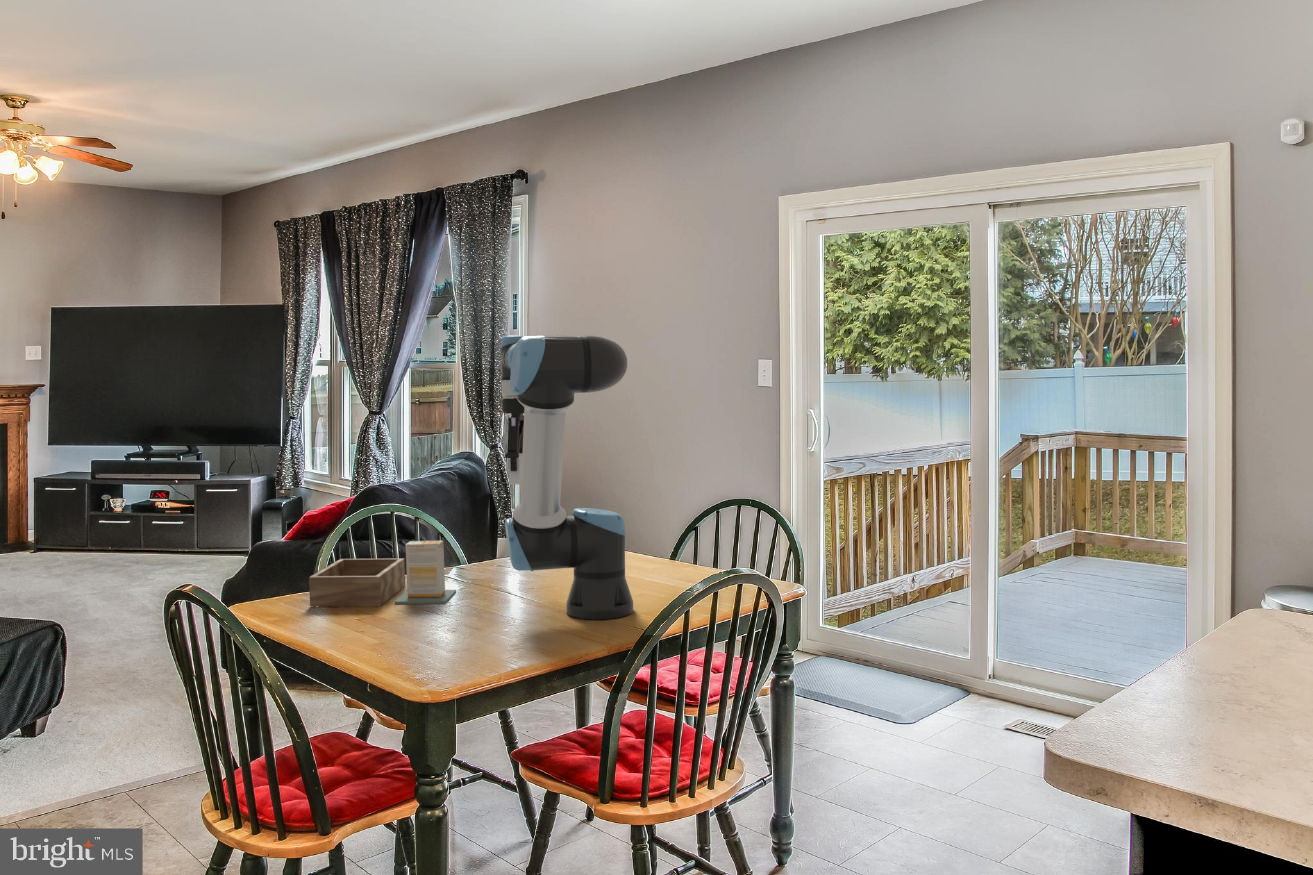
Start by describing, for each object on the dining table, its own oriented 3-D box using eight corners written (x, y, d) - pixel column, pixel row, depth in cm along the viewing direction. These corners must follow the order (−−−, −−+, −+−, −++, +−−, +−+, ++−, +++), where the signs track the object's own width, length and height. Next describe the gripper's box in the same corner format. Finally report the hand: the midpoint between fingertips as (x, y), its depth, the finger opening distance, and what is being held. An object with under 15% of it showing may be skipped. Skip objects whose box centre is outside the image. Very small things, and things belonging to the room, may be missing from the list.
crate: (380, 606, 226) (379, 576, 226) (309, 606, 226) (309, 577, 226) (405, 585, 248) (404, 558, 248) (341, 585, 248) (340, 558, 248)
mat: (445, 603, 228) (445, 601, 228) (394, 603, 228) (394, 601, 228) (456, 592, 240) (456, 589, 240) (407, 592, 240) (407, 590, 240)
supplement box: (445, 593, 236) (444, 540, 236) (440, 597, 232) (439, 543, 231) (412, 593, 237) (411, 540, 236) (406, 597, 232) (405, 543, 231)
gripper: (525, 398, 231) (526, 486, 233) (538, 396, 256) (539, 475, 258) (493, 398, 231) (495, 487, 233) (509, 396, 256) (511, 476, 258)
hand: (518, 481), depth 245 cm, fingers open, 13 cm apart
